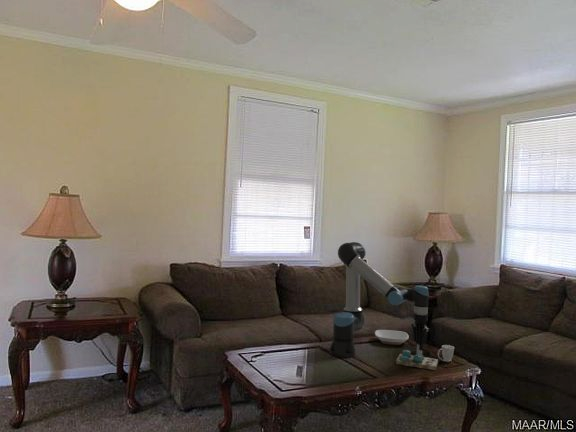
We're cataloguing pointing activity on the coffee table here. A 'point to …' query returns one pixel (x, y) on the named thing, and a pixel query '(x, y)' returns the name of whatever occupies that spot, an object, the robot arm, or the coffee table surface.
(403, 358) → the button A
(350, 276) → the robot arm
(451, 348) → the cup
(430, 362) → the board
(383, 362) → the coffee table surface
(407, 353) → the button
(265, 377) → the coffee table surface
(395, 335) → the bowl
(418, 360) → the button
